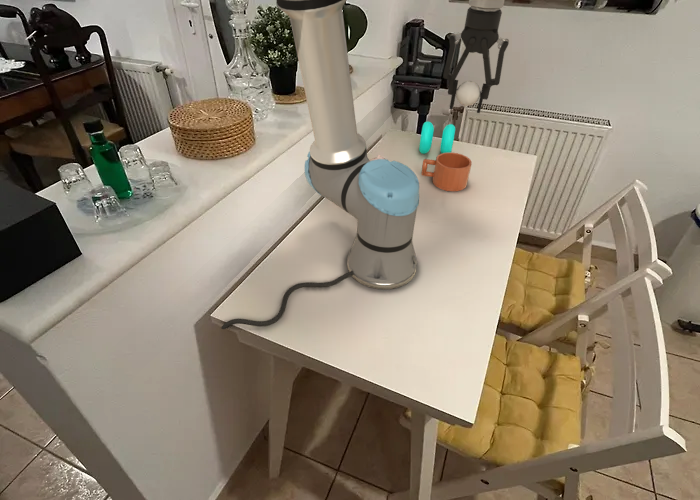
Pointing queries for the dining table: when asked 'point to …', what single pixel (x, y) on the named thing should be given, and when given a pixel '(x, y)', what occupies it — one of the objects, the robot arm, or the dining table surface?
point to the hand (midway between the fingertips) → (465, 108)
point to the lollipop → (467, 96)
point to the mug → (449, 171)
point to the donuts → (428, 136)
